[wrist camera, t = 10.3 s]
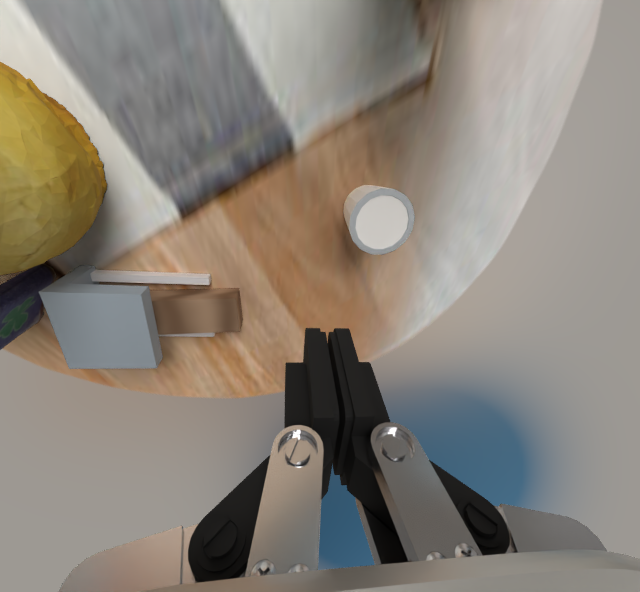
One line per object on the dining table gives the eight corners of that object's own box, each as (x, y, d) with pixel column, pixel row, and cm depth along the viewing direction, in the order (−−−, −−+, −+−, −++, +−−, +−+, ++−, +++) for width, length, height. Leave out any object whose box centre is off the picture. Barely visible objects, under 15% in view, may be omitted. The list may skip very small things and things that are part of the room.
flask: (40, 324, 39) (-38, 384, 29) (14, 314, 38) (-76, 373, 28) (60, 269, 36) (-21, 316, 26) (32, 257, 34) (-62, 301, 25)
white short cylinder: (393, 231, 38) (414, 249, 32) (341, 240, 38) (352, 260, 31) (392, 174, 34) (415, 182, 28) (334, 184, 34) (346, 194, 28)
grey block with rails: (210, 270, 38) (196, 296, 31) (216, 334, 42) (204, 368, 36) (80, 265, 35) (38, 291, 29) (101, 333, 40) (69, 368, 34)
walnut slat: (239, 287, 39) (235, 298, 37) (242, 319, 42) (239, 331, 39) (102, 290, 37) (88, 302, 35) (114, 323, 40) (102, 336, 37)
